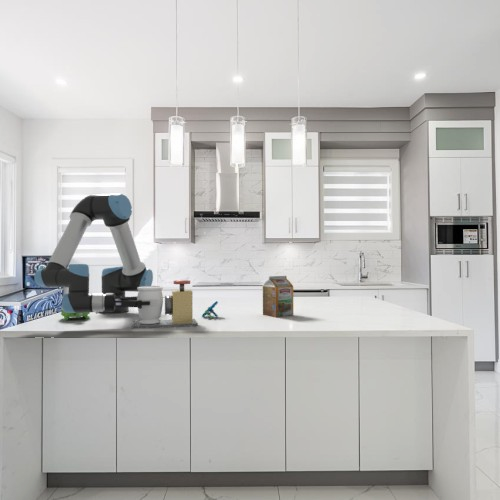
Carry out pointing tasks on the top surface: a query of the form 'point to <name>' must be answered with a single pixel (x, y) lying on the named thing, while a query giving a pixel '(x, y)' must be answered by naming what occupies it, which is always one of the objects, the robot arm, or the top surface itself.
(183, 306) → the valve fitting
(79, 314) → the turtle holder
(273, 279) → the milk carton
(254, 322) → the top surface
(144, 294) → the jar
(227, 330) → the top surface
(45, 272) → the robot arm
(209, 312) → the teal toy telescope
